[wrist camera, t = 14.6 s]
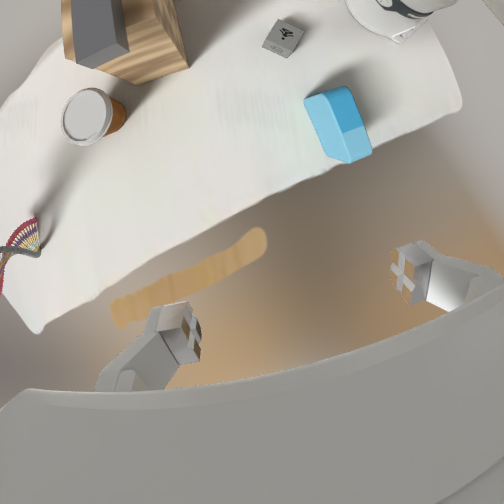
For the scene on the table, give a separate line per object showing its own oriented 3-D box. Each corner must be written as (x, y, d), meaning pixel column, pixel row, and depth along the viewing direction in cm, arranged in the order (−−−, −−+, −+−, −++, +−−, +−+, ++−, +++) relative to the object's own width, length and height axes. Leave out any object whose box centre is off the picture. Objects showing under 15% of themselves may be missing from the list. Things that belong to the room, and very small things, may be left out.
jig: (189, 68, 40) (144, -1, 13) (137, 85, 40) (43, 51, 13) (171, -8, 31) (131, -97, 4) (123, 9, 31) (49, -58, 4)
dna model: (48, 217, 48) (-38, 286, 21) (53, 253, 52) (-19, 332, 25) (23, 216, 47) (-60, 278, 20) (28, 250, 51) (-43, 321, 24)
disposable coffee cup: (89, 142, 43) (57, 148, 32) (93, 95, 39) (61, 91, 28) (132, 140, 44) (106, 145, 34) (136, 92, 40) (112, 84, 30)
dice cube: (297, 39, 39) (304, 31, 34) (286, 58, 40) (292, 51, 36) (273, 28, 37) (278, 19, 33) (261, 47, 39) (265, 39, 35)
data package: (345, 148, 49) (375, 155, 38) (325, 156, 49) (352, 165, 39) (322, 92, 44) (348, 84, 33) (301, 99, 44) (322, 92, 33)
